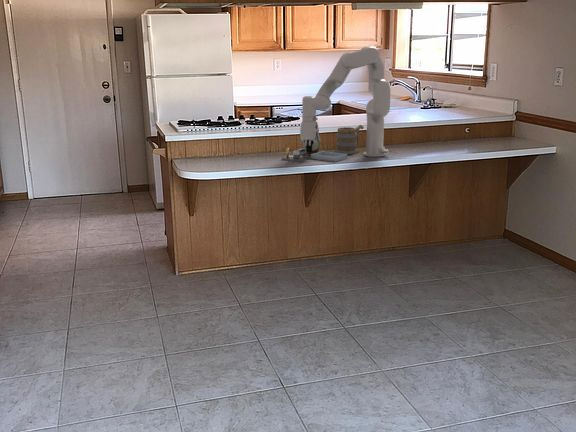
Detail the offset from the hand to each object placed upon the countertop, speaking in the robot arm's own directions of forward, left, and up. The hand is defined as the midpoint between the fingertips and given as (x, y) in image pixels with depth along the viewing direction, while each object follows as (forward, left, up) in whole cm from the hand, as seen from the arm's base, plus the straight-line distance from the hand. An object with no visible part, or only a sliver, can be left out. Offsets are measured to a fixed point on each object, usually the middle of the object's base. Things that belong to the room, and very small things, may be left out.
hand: (309, 152), depth 337 cm
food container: (+5, -11, -3) cm, 13 cm away
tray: (-11, -4, -3) cm, 12 cm away
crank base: (+3, +7, -3) cm, 8 cm away
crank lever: (+3, +3, -2) cm, 5 cm away
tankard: (-9, -30, -3) cm, 31 cm away
